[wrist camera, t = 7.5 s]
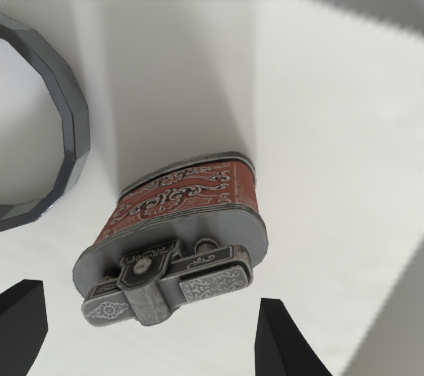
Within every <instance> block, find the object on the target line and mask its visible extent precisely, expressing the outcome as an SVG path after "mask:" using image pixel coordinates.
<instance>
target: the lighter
mask: <svg viewBox="0 0 424 376" xmlns="http://www.w3.org/2000/svg"><path fill="white" fill-rule="evenodd" d="M256 182H257V180H256V174H255V168H254V166H253V164H252V162H251V160H249V159H248V158H247V157H246V156H245V155H243V154H241V153H239V152H225V153H218V154H211V155H204V156H200V157H196V158H192V159H188V160H184V161H180V162H177V163H174V164H171V165H169V166H167V167H164V168H162V169H159V170H157V171H155V172H152V173H150V174H148V175H146V176H145V177H143V178H141V179H139V180H138V181H136V182H134V183H132V184H131V185H129V186H127V187H126V188H125V189H124V190H123V191H122V193H121V194H120V196H119V198H118V200H117V205H116V209H115V210H114V212H113V214H112V215H111V217H110V218H109V220H108V222H107V223H106V225H105V226H104V228H103V229H102V231H101V233H100V234H99V236H98V237H97V239H96V241H95V242H94V244H93V245H92V246H90V247H88V248H87V249H86V250H85V251H84V252H82V254H81V255H80V257H79V258H78V260H77V261H76V263H75V266H74V268H73V282H74V284H75V287H76V289H77V290H78V292H79V293H80V294H81V295H82V297H83V298H85V300H84V302H83V304H82V307H81V310H82V313H83V315H84V317H85V319H86V320H87V321H88V322H89V324H91V325H93V326H96V327H103V326H107V325H111V324H115V323H118V322H122V321H126V320H129V319H133V318H135V320H137V321H140V323H141V325H143V326H152V325H156V324H159V323H162V322H163V321H165V320H167V319H168V318H169V317H170V316H171V315H172V314H173V312H175V311H176V310H177V309H179V308H180V306H181V305H184V304H188V303H192V302H195V301H199V300H203V299H207V298H210V297H214V296H218V295H221V294H225V293H229V292H232V291H236V290H240V289H243V288H245V287H248V286H249V285H250V284H251V283H252V281H253V270H252V268H254V267H255V266H256V265H258V264H259V263H261V262H262V260H263V258H264V257H265V255H266V254H267V249H268V238H267V232H266V226H265V223H264V221H263V219H262V218H261V216H260V214H259V211H258V205H257V199H256V193H255V188H256Z"/></svg>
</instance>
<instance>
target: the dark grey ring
mask: <svg viewBox="0 0 424 376" xmlns="http://www.w3.org/2000/svg"><path fill="white" fill-rule="evenodd" d="M0 38H1V39H3V40H5V41H7V42H9V43H10V44H11V46H12V47H13V48H14V49H15V50H16V51H17V52H18V53H19V54H20V55H21V56H22V57H23V58H24V59H25V60H26V61H27V62H28V63H29V64H30V65H31V66H32V67H33V68H34V69H35V70H36V71H37V72H38V73H39V74H40V75H41V76H42V78H43V80H44V82H45V84H46V86H47V88H48V90H49V92H50V95H51V97H52V99H53V101H54V103H55V105H56V107H57V109H58V111H59V113H60V115H61V118H62V129H63V142H64V155H65V157H64V160H63V163H62V166H61V168H60V171H59V174H58V176H57V179H56V182H55V185H54V187H53V190H52V191H51V192H50V193H49V194H47V195H46V196H45V197H43V198H40V199H37V200H33V201H30V202H27V203H24V204H21V205H17V206H11V205H0V232H2V231H5V230H8V229H12V228H15V227H18V226H21V225H25V224H28V223H31V222H35V221H36V220H38V219H39V218H40V217H41V216H42V215H43V214H44V213H45V212H46V211H48V210H49V209H50V208H51V207H52V206H53V205H54V204H55V203H56V202H57V201H59V200H60V199H61V198H62V197H63V196H64V195H65V194H66V193H67V192H68V191H69V190H70V189H71V188H72V187H73V186H74V185H75V184H76V183H77V181H78V179H79V176H80V174H81V171H82V169H83V166H84V163H85V161H86V158H87V156H88V153H89V151H90V134H89V114H88V106H87V104H86V102H85V100H84V97H83V95H82V93H81V91H80V88H79V86H78V84H77V82H76V79H75V77H74V75H73V73H72V70H71V68H70V67H69V65H68V64H67V63H66V62H65V61H64V60H63V59H62V58H61V57H60V56H59V54H58V53H57V52H56V51H55V50H54V49H53V48H52V47H51V46H50V45H49V44H48V43H47V42H46V41H45V40H44V39H43V38H42V37H41V36H40V34H39V33H38V32H37V31H35V30H34V29H32V28H30V27H28V26H26V25H24V24H22V23H20V22H18V21H16V20H14V19H12V18H10V17H8V16H6V15H4V14H2V13H0Z"/></svg>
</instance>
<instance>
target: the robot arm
mask: <svg viewBox="0 0 424 376" xmlns="http://www.w3.org/2000/svg"><path fill="white" fill-rule="evenodd" d="M47 332H48V323H47V314H46V306H45V297H44V288H43V281H40V280H28V279H24V280H22V281H20V282H19V283H17V284H15V285H14V286H12V287H10V288H9V289H7V290H6V291H4V292H3V293H1V294H0V376H26V375H27V373H28V371H29V370H30V368H31V366H32V365H33V363H34V361H35V359H36V357H37V355H38V353H39V351H40V348H41V346H42V344H43V341H44V339H45V337H46V334H47ZM254 349H255V376H332V374H331V373H330V372H329V371H328V370H327V368H326V367H325V366H324V364H323V363H322V362H321V361H320V359H319V358H318V357H317V355H316V354H315V353H314V351H313V350H312V348H311V347H310V345H309V344H308V343H307V341H306V340H305V338H304V337H303V335H302V334H301V332H300V331H299V329H298V328H297V326H296V324H295V323H294V321H293V320H292V318H291V316H290V315H289V313H288V311H287V309H286V308H285V306H284V304H283V302H282V301H281V300H280V299H270V298H261V303H260V310H259V317H258V324H257V331H256V339H255V346H254Z"/></svg>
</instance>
